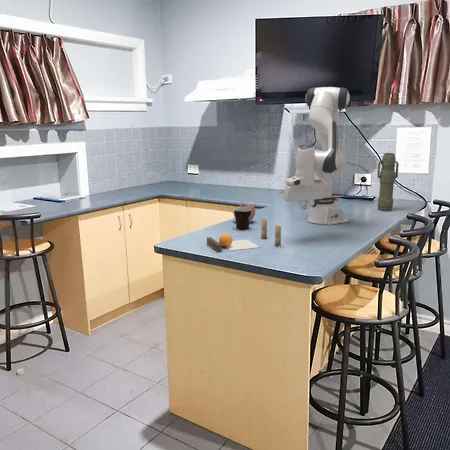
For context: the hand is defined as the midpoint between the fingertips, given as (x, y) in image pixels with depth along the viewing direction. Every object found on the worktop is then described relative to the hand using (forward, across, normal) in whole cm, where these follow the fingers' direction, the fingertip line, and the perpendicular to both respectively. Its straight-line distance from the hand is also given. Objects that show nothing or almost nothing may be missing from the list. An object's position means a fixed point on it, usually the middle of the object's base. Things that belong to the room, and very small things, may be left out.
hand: (303, 209), depth 220 cm
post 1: (+14, +17, -7) cm, 23 cm away
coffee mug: (+14, +20, -28) cm, 37 cm away
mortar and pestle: (+14, +12, -42) cm, 46 cm away
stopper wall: (+14, +45, 0) cm, 47 cm away
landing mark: (+14, +33, 0) cm, 36 cm away
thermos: (+14, -83, -41) cm, 94 cm away
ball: (+11, +40, 0) cm, 41 cm away
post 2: (+14, +17, +7) cm, 23 cm away
